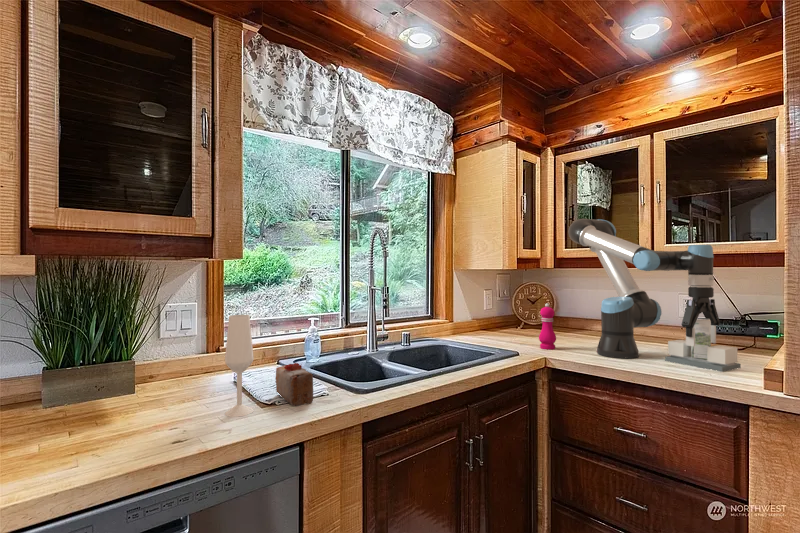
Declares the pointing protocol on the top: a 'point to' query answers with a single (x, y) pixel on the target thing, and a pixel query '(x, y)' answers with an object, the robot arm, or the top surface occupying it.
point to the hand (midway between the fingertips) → (701, 344)
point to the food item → (294, 384)
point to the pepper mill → (547, 329)
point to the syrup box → (701, 338)
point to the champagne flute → (239, 357)
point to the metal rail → (703, 360)
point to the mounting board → (702, 364)
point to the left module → (679, 348)
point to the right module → (722, 354)
